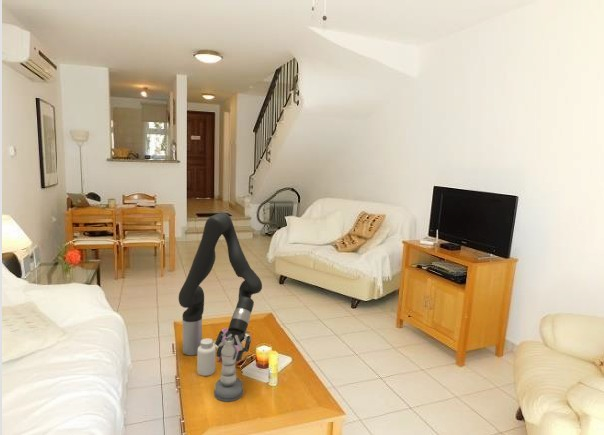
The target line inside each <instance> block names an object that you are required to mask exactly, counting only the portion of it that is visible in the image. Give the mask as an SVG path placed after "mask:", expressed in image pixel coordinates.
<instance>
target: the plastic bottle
mask: <svg viewBox="0 0 604 435" xmlns="http://www.w3.org/2000/svg"><path fill="white" fill-rule="evenodd" d="M224 344H225V345H224V346H223V348H222V350H221V356H222V357H221V373H220V377H219V379H220V381H221V383H222V385H224V386H231V385H233V384H234V383H235V382H236V379H237V378H238V377H237V372H236V371H237V370H236V362H237V360H236V356H237V348H236V347H235V345H234V338H232V337H227V338H225V342H224Z"/></svg>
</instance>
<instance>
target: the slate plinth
mask: <svg viewBox="0 0 604 435" xmlns="http://www.w3.org/2000/svg"><path fill="white" fill-rule="evenodd" d="M243 384H244V383H243V381H242V380H241V378H239V377H237V379H236V382H235V383H234V384H233V385H231V386H224V385H222V383H221V381H220V378H219V379H218V380H217V381H216V382H215V385H214V392H213V393H214V394H213V395H214V397H215V399H216V400H218V401H220V402H225V403H231V402H235V401H237V400H239V399H240V398H242V397H243V396H244V387H243Z"/></svg>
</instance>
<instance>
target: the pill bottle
mask: <svg viewBox="0 0 604 435" xmlns="http://www.w3.org/2000/svg"><path fill="white" fill-rule="evenodd" d="M213 342H214V341H213V339H212V338H207V337H206V338H202V340H201V345H200V346H199V347H198V350H197V354H196V355H197V356H196V357H197V361H196V362H197V364H196V365H197V366H196V367H197V368H196V370H197V372H196V373H197V374H198V375H199V376H202V377H203V376H204V377H208V376H211V375H213V374H214V373H215V372H216V353H217V351H216V350H217V349H216V347H215V345H214V344H213Z"/></svg>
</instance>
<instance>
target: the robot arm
mask: <svg viewBox="0 0 604 435" xmlns="http://www.w3.org/2000/svg"><path fill="white" fill-rule="evenodd" d="M201 236H202V237H201V240H200V243H199V245H198V248H197V250H196V254H195V255H194V258H193V261H192V263H191V266H190V269H189V272H188V274H187V276H186V279H185V281H184V283H183V285H182V287H181V288H180V291H179V293H178V302H179V306H181V307H182V308H185V310H184V311H183V312H182V353H183V354H184V355H187V356H195V355H197V350H198V347H199V346H200V345H201V340H202V339H203V314H204V309H205V308H204V307H205V292H204V290H203V288H202V287H201V286H200V285H201V283H203V281H204V280H206V278H207V277H208V276H209V274H210V273H211V271H212V269H213V267H214V265H215V261H216V257H217V256H216V246H217V244H218V241H219V239H220V237H221V236H223V238H224V240H225V243H226V246H227V253H228V260H229V264H230V265H231V267H232V270H233V271H234V273H235V275H236V276H237V278H238V277H239V278H241V279H244V280H243V281H242V282H241V283H240V286H239V289H238V300H237V303H236V306H235V309H234V311H233V314H232V316H231V319H230V323H229V324H228V325H229V326H228V328H227V330H228V331H227V332H226V333H225V332H222V330H220V331H219V333H218V335H217V337H216V340H215V343H214V344H215V345H216V346H217V347H218V348H217V349H216V350H217V351H216V354H215V356H216V357H217V358H219V357H220V356H221V350H222V348H223V346H224V345H225V344H224V342H225V339H224V340H223V341H222V338H223V337H224V336H226V338H227V337H232V338H234V345H236V346H237V345H238V346H239V351H238V355H237V358H236V362H240V361H241V360H242V358H243V355H244V353H245V352H249V350H250V346H251V342H252V337H251V336H250V335H246V333H247V330H248V327H249V323H250V319H251V317H252V316H251V315H252V311H253V307H254V305H255V304H254V302H255V301H254V300H253V299H252V295H255V294H259V293H260V292H262V289H263V283H262V281H261V278H260V277H259V275H257V273H256V272H255V270H254V269H252V267H251V266H250V264H249V261H248V260H247V258H246V256H245V254H244V251H243V250H242V247H241V244H240V241H239V238H238V236H237V233H236V229H235V226H234V222H233V220H232V218H231V217H230V215H229V214H227V213H226V212H223V211H222V212H221V211H220V212H217V213H216V214H214V215H211V216H210V217H209V218H207V219H206V221H205V224H204V227H203V232H202V235H201ZM243 341H245V344H244V345H243Z"/></svg>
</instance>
